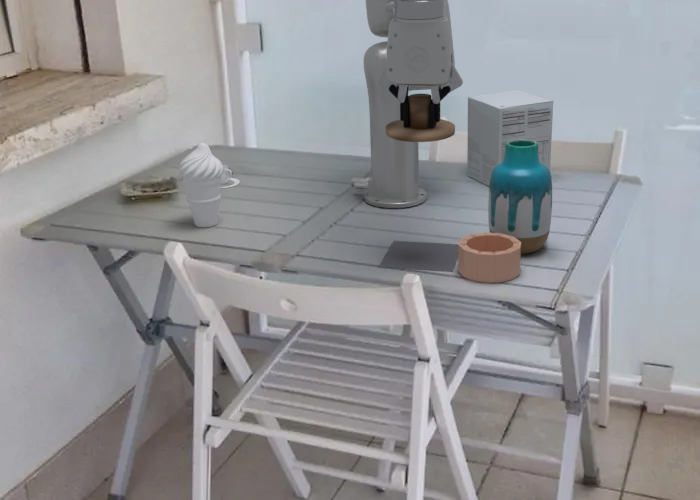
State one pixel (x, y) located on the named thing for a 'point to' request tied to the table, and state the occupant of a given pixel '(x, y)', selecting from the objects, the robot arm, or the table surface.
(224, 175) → the teacup and saucer
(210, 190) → the soft serve ice cream cone
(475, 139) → the supplement box
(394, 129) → the lid
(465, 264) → the bowl
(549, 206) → the vase
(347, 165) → the table surface
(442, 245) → the mat
